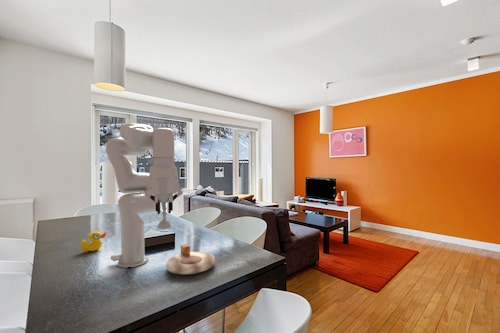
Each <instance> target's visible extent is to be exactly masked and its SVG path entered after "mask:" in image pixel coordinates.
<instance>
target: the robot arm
mask: <svg viewBox="0 0 500 333" xmlns="http://www.w3.org/2000/svg"><path fill="white" fill-rule="evenodd" d="M119 135H120V137H111V138H109V139H108V140H107V142H106V143H105V144H106V145H105V150H106V156H107V158H108V160H109V162H110V164H111V165H112V168H113V170H114V174H115V179H116V183H117V188H118V190H119V192H120V193H122V195H121V196H120V197H119V198H118V201H117V207H118V211H119V216H120V240H121V243H120V246H121V249H120V250H121V253H119V254H112V255H111V256H110V260H111V261H112V262H116V261H117V266H118V267H119V268H122V267H123V268H125V269H126V268H127V269H128V267H131V268H135V267H140V266H143V265H144V264H146V263H147V262H148V261H149V256H147V255H146V252H145V250H146V249H145V222H144V220H143V219H142V217H140V215H139V214H144V213H150V212H156V213H157V215H160V214H161V202H160V201H159V199H158V196H157V195H159V194H160V192H159V181H158V180H157V179H156V178H169V180H168V181H167V192H166V194H170V196H169V201H168V202H167V206H168V207H167V208H168V211H167V212H168V214H171V213H172V211H173V210H174V208H173V206H174V205H173V202H174V201H175V200H176V199H177V198H178V197H180V196H182V195H184V192H183V190H182V189H181V187H180V185H179V173H178V167H177V166H175V132H174V130H173V129H172V128H168V127H155V128H153V127H152V126H151V125H149V124H143V123H142V124H140V123H132V122H130V123H129V122H127V123H125V124H122V125H121V127H120V129H119ZM148 150H151V151H152V153H151V154H152V158H150V159H148V160H147V163H148V164H151V165H152V166H150V167H149V172H136V171H135V166H134V164H133V163H132V162H131V160H129V159H128V158H127V157H125V156H144V155H145V154H146V152H147V151H148ZM139 265H140V266H139Z"/></svg>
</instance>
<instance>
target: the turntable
mask: <svg viewBox="0 0 500 333" xmlns="http://www.w3.org/2000/svg"><path fill="white" fill-rule="evenodd" d="M215 263H216V258H215V255H214V254H212V253H210V252H207V251H191V246H190V245H189V244H188V243H185V244H180V253H179V254H177V255H174V256H172V257H171V258H169V259H168V260H166V270H167V271H169V272H170V273H172V274H176V275H195V274H198V273H202V272H205V271H207V270H210V269H211V268H212V267H213V266H215Z"/></svg>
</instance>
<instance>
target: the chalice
mask: <svg viewBox="0 0 500 333" xmlns="http://www.w3.org/2000/svg"><path fill="white" fill-rule="evenodd" d="M156 179H157V180H158V181H159V192H160V194H159V195H157V196H158V199H159V201H160V204H162V213H161V215H162V217H163V218H162V219H161V220H160V221H159V222H158V225H157V229H158V230H160V229H161V230H163V229H170V228H172V223H171V221H170V220H169V219H167V215H168V214H167V212H166V210H167V208H168V207H166V204H168V202H169V200H170V199H169V196H170V194H166V192H167V181H168V180H169V178H156Z"/></svg>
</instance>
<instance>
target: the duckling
mask: <svg viewBox="0 0 500 333" xmlns="http://www.w3.org/2000/svg"><path fill="white" fill-rule="evenodd" d="M106 236H107V232H106V231H105V232H104V233H101V232H100V231H93V232H91V233H89V234H88V236H87V238H88V240H89V241H91V243H88V242H87V240H86V239H82V241H81V243H80V248H81V250H82V251H83V252H86V253H87V252H88V251H92V252H96V251H95V250H97V251H98V250H100V249H101V247H102V245H103V242H102V240H101V239H104V238H105V237H106ZM88 253H89V252H88Z"/></svg>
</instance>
